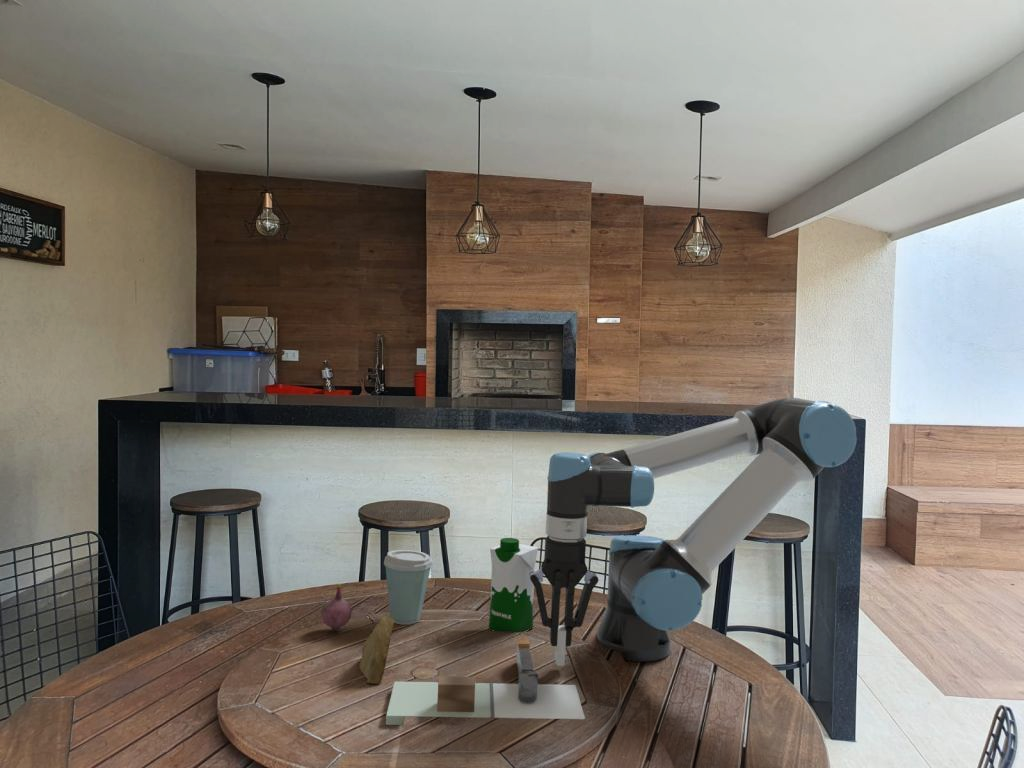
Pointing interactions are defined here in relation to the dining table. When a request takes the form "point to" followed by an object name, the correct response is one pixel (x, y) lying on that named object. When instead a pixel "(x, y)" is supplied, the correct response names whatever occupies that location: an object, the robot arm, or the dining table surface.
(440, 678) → the block
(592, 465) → the robot arm
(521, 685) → the bar
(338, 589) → the vegetable
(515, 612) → the milk carton
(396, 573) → the disposable coffee cup
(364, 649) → the rock
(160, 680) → the dining table surface
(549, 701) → the door plate
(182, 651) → the dining table surface
